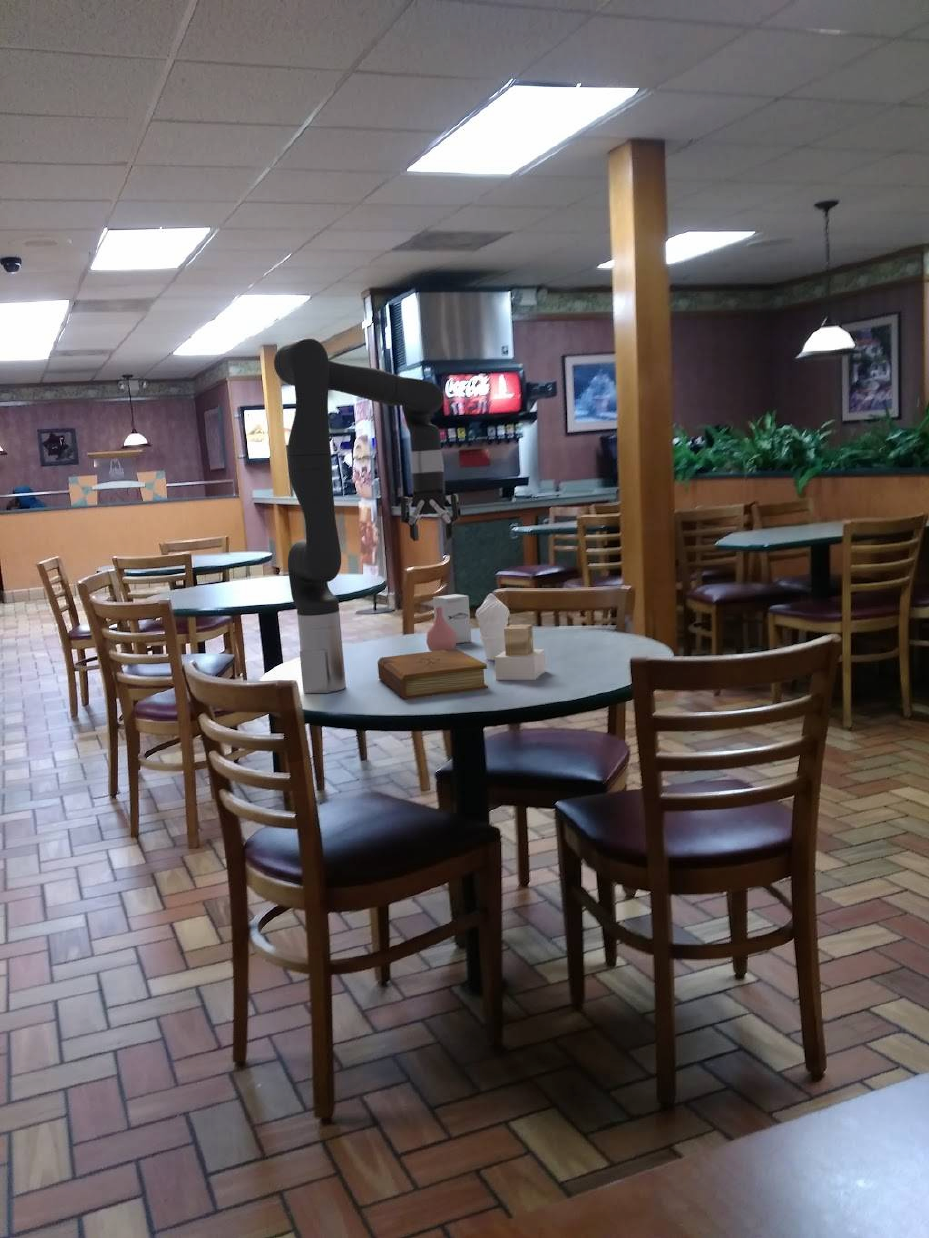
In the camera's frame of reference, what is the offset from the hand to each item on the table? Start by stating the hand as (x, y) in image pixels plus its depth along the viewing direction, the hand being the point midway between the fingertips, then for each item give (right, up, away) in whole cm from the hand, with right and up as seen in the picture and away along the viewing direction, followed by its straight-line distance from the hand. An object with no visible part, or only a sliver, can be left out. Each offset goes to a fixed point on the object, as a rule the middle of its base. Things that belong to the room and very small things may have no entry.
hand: (432, 540), depth 241 cm
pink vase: (+2, -28, +19) cm, 34 cm away
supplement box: (+5, -25, +36) cm, 44 cm away
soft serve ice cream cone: (+15, -28, +8) cm, 33 cm away
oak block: (+20, -26, -14) cm, 36 cm away
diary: (0, -34, -16) cm, 37 cm away
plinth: (+20, -31, -13) cm, 39 cm away
